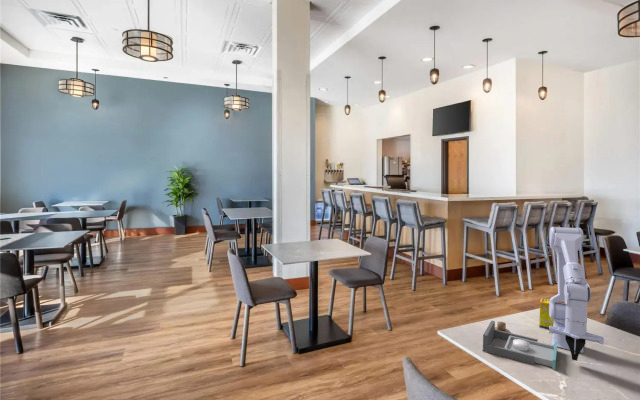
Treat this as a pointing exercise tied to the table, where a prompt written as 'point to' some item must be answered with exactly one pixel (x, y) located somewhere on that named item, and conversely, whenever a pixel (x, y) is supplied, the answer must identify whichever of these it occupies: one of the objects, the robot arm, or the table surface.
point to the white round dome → (521, 345)
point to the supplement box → (545, 314)
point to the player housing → (515, 355)
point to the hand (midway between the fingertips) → (574, 359)
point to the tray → (537, 351)
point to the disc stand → (501, 327)
